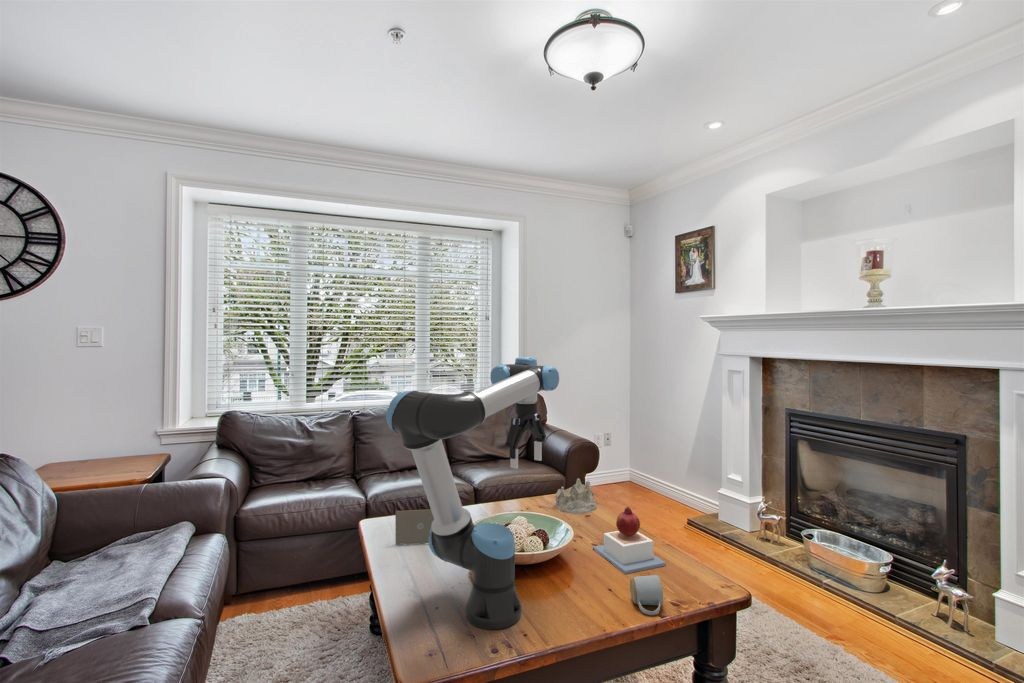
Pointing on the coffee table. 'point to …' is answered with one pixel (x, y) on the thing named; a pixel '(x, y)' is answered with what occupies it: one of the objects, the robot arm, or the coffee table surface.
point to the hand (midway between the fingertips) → (526, 464)
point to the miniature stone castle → (576, 499)
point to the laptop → (413, 526)
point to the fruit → (628, 523)
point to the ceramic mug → (647, 592)
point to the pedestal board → (632, 565)
